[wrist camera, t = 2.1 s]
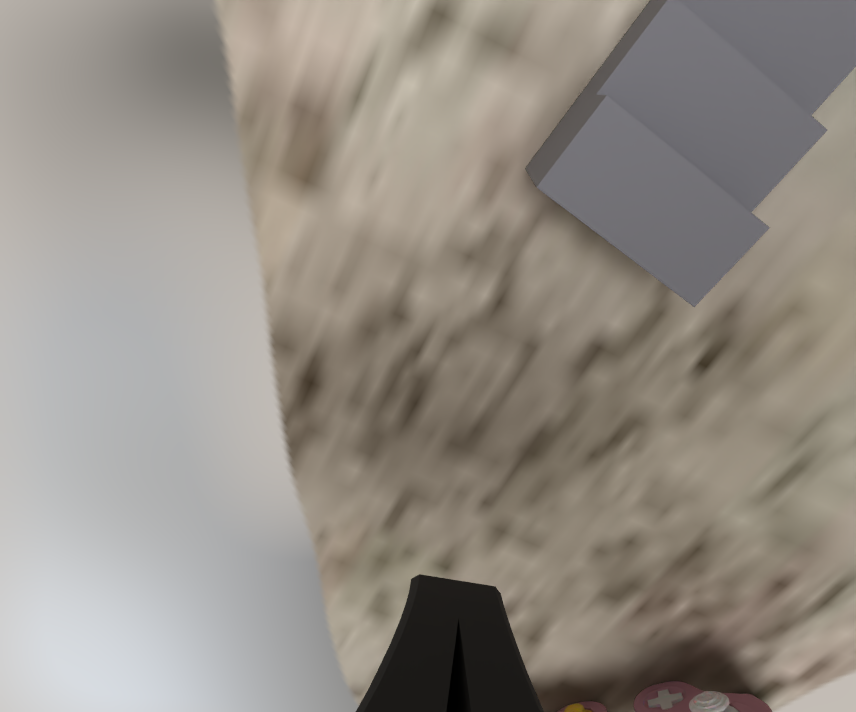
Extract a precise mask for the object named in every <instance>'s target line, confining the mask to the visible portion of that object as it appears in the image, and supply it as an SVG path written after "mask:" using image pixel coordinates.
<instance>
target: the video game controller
mask: <svg viewBox="0 0 856 712" xmlns="http://www.w3.org/2000/svg"><path fill="white" fill-rule="evenodd" d="M634 709H635V712H772V710H771V709H770V707H769V706H768V705H767V704H766V703H765V702H763V701H762V700H760V699H758V698H757V697H755V696H753V695H752V694H736V693H720V692H715V691H702V690H700V689H698V688H696V687H694V686H692V685H690V684H687V683H685V682H680V681H669V682H664V683H660V684H656V685H652V686H650V687H647V688H645V689H644V690H643V691H641V692H640V693H639V694H638V695H637V696H636V698H635V700H634ZM557 712H607V709H606V707H605V706H604V705H603V704H601V703H599V702H594V701H586V702H578V703H574V704H571V705H567V706H565V707H563V708H562V709H560V710H559V711H557Z"/></svg>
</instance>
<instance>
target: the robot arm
mask: <svg viewBox="0 0 856 712" xmlns="http://www.w3.org/2000/svg"><path fill="white" fill-rule="evenodd" d="M356 712H544V711H543V708H542V706H541V704H540V701H539V699H538V697H537V694H536V692H535V690H534V688H533V685H532V683H531V680H530V678H529V675H528V673H527V670H526V668H525V665H524V663H523V660H522V657H521V655H520V652H519V649H518V647H517V644H516V641H515V639H514V636H513V633H512V630H511V627H510V624H509V621H508V618H507V615H506V611H505V608H504V605H503V601H502V597H501V593H500V592H499V591H498V590H497V588H496V587H494V586H488V585H482V584H476V583H470V582H463V581H457V580H451V579H445V578H438V577H432V576H426V575H418V576H416V577H414V578H412V579H411V585H410V590H409V595H408V598H407V602H406V605H405V608H404V611H403V614H402V617H401V619H400V622H399V624H398V627H397V629H396V632H395V634H394V637H393V639H392V641H391V644H390V646H389V648H388V650H387V652H386V654H385V656H384V658H383V661H382V663H381V665H380V667H379V669H378V671H377V673H376V675H375V677H374V679H373V681H372V683H371V685H370V687H369V689H368V691H367V693H366V695H365V696H364V698H363V700H362V702H361V704H360V705H359V707H358V709H357V711H356Z"/></svg>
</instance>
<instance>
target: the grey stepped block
mask: <svg viewBox="0 0 856 712" xmlns="http://www.w3.org/2000/svg"><path fill="white" fill-rule="evenodd" d="M855 67H856V0H650V1H649V3H648V4H647V5H646V7H645V8H644V9H643V11H642V12H641V13H640V15H639V16H638V17H637V19H636V20H635V21H634V23H633V24H632V25H631V27H630V28H629V30H628V31H627V32H626V34H625V35H624V36H623V38H622V39H621V40H620V42H619V43H618V44H617V46H616V47H615V48H614V50H613V51H612V52H611V54H610V55H609V56H608V58H607V59H606V60H605V62H604V63H603V64H602V66H601V67H600V68H599V70H598V71H597V72H596V74H595V75H594V77H593V78H592V79H591V81H590V82H589V83H588V85H587V86H586V87H585V89H584V90H583V91H582V93H581V94H580V95H579V97H578V98H577V99H576V101H575V102H574V103H573V105H572V106H571V107H570V109H569V110H568V111H567V113H566V114H565V115H564V117H563V118H562V119H561V121H560V122H559V124H558V125H557V126H556V128H555V129H554V130H553V132H552V133H551V134H550V136H549V137H548V138H547V140H546V141H545V142H544V144H543V145H542V146H541V148H540V149H539V150H538V152H537V153H536V154H535V156H534V157H533V158H532V160H531V161H530V162H529V164H528V165H527V166H526V168H525V169H526V171H527V173H528V174H529V176H530V178H531V179H532V181H533V182H534V184H535V186H536V187H537V188H538V189H539V190H541V191H542V192H543V193H545V194H546V195H547V196H549V197H550V198H551V199H553V200H554V201H555V202H556V203H558V204H559V205H560V206H562V207H563V208H564V209H566V210H567V211H568V212H570V213H571V214H572V215H574V216H575V217H576V218H578V219H579V220H580V221H581V222H583V223H584V224H585V225H587V226H588V227H589V228H591V229H592V230H593V231H595V232H596V233H597V234H599V235H600V236H601V237H603V238H604V239H605V240H606V241H608V242H609V243H610V244H612V245H613V246H614V247H616V248H617V249H618V250H620V251H621V252H622V253H624V254H625V255H626V256H628V257H629V258H630V259H632V260H633V261H634V262H635V263H637V264H638V265H639V266H641V267H642V268H643V269H645V270H646V271H647V272H649V273H650V274H651V275H653V276H654V277H655V278H657V279H658V280H659V281H660V282H662V283H663V284H664V285H666V286H667V287H668V288H670V289H671V290H672V291H674V292H675V293H676V294H678V295H679V296H680V297H682V298H683V299H684V300H685V301H687V302H688V303H689V304H691V305H692V306H693V307H695V306H696V305H697V304H698V303H699V302H700V301H701V300H702V299H703V297H704V296H705V295H706V294H707V293H708V292H709V291H710V290H711V289H712V288H713V287H714V286H715V285H716V284H717V283H718V282H719V281H720V280H721V278H722V277H723V276H724V275H725V274H726V273H727V272H728V271H729V270H730V269H731V268H732V267H733V266H734V265H735V264H736V263H737V262H738V261H739V260H740V258H741V257H742V256H743V255H744V254H745V253H746V252H747V251H748V250H749V249H750V248H751V247H752V246H753V245H754V244H755V243H756V242H757V241H758V240H759V238H760V237H761V236H762V235H763V234H764V233H765V232H766V231H767V230H768V229H769V227H768V226H767V225H766V224H765V223H763V222H762V221H761V220H760V219H758V218H757V217H756V216H755V215H753V214H752V213H751V212H752V211H753V210H754V209H755V208H756V207H757V206H758V205H759V203H760V202H761V201H762V200H763V199H764V198H765V197H766V196H767V195H768V194H769V193H770V192H771V191H772V189H773V188H774V187H775V186H776V185H777V184H778V183H779V182H780V181H781V180H782V179H783V178H784V176H785V175H786V174H787V173H788V172H789V171H790V170H791V169H792V168H793V167H794V166H795V165H796V164H797V162H798V161H799V160H800V159H801V158H802V157H803V156H804V155H805V154H806V153H807V152H808V151H809V150H810V148H811V147H812V146H813V145H814V144H815V143H816V142H817V141H818V140H819V139H820V138H821V137H822V135H823V134H824V133H825V132H826V131H827V129H826V128H825V127H824V126H822V125H821V124H820V123H819V122H818V121H817V120H816V119H814V118H813V117H812V116H811V115H812V114H813V113H814V112H815V111H816V110H817V109H818V107H819V106H820V105H821V104H822V103H823V102H824V101H825V100H826V99H827V98H828V96H829V95H830V94H831V93H832V92H833V91H834V90H835V89H836V88H837V86H838V85H839V84H840V83H841V82H842V81H843V80H844V79H845V78H846V77H847V75H848V74H849V73H850V72H851V71H852V70H853V69H854V68H855Z"/></svg>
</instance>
